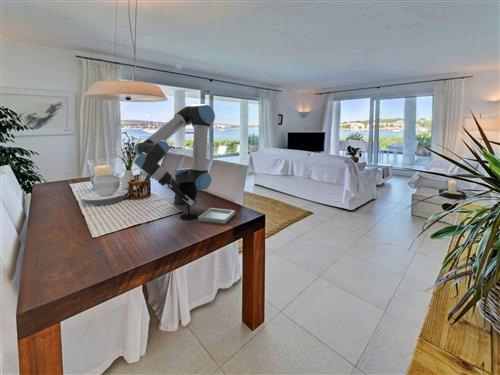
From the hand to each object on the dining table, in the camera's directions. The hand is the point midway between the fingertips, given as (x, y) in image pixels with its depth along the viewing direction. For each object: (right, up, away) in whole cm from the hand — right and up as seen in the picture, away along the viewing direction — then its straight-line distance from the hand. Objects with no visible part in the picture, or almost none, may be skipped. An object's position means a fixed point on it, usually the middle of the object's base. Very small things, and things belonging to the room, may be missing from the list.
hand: (191, 200), depth 142 cm
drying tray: (+15, -10, +1) cm, 18 cm away
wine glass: (-2, -10, +2) cm, 10 cm away
